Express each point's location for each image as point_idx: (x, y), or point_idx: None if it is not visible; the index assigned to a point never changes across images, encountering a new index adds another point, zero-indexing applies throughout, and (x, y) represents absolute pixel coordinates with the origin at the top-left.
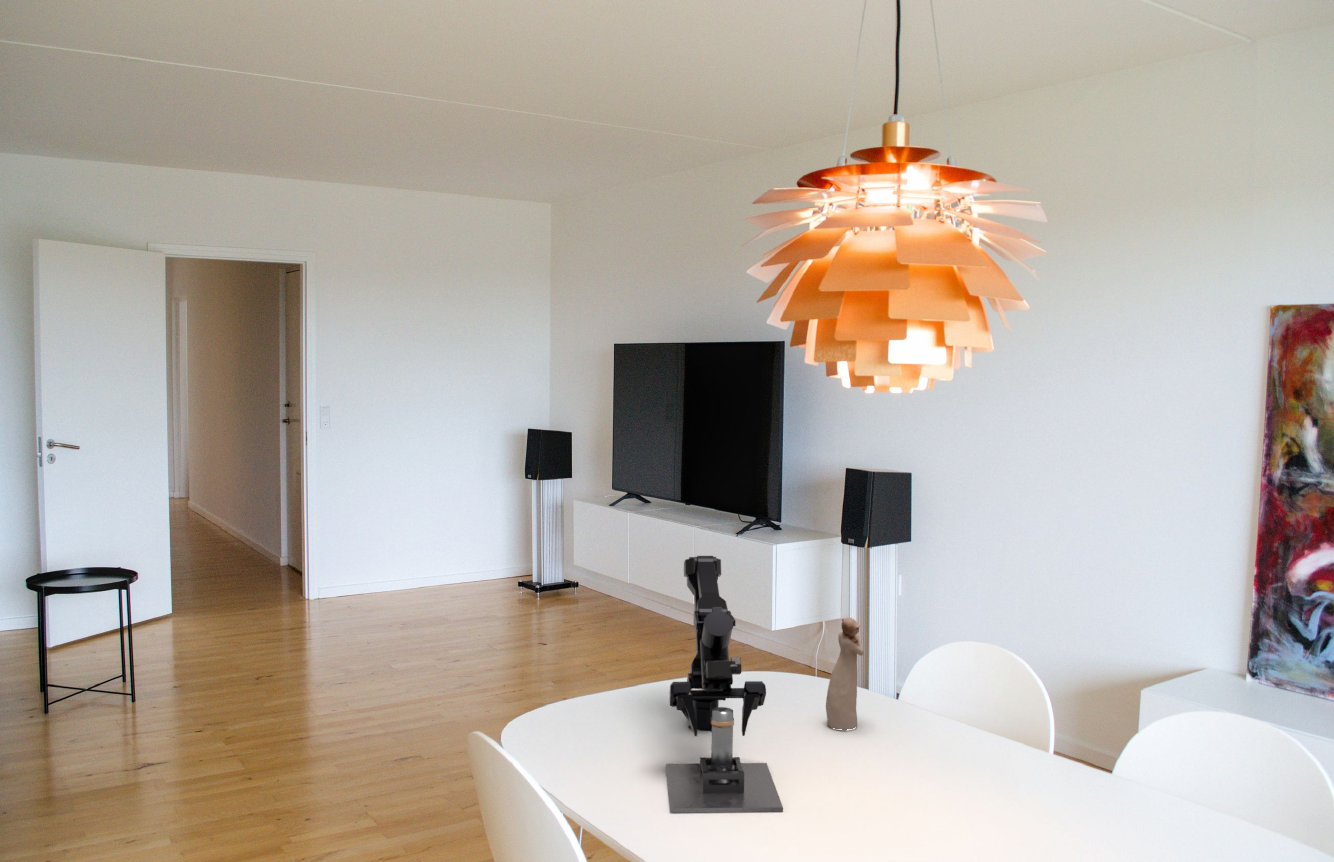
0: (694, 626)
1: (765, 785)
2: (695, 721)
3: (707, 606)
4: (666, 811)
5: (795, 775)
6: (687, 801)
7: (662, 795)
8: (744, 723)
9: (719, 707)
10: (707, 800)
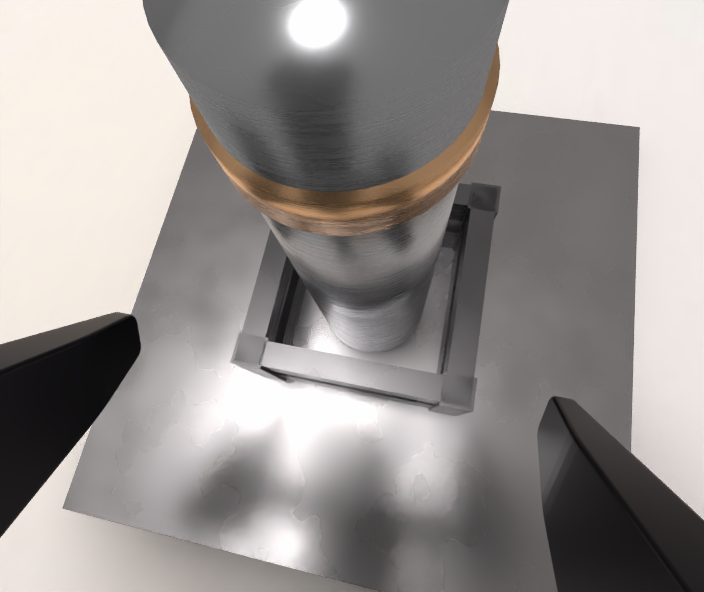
0: None
1: (191, 256)
2: (609, 477)
3: None
4: (646, 154)
5: None
6: (561, 172)
7: (655, 294)
8: (47, 344)
9: (324, 98)
10: (474, 168)
